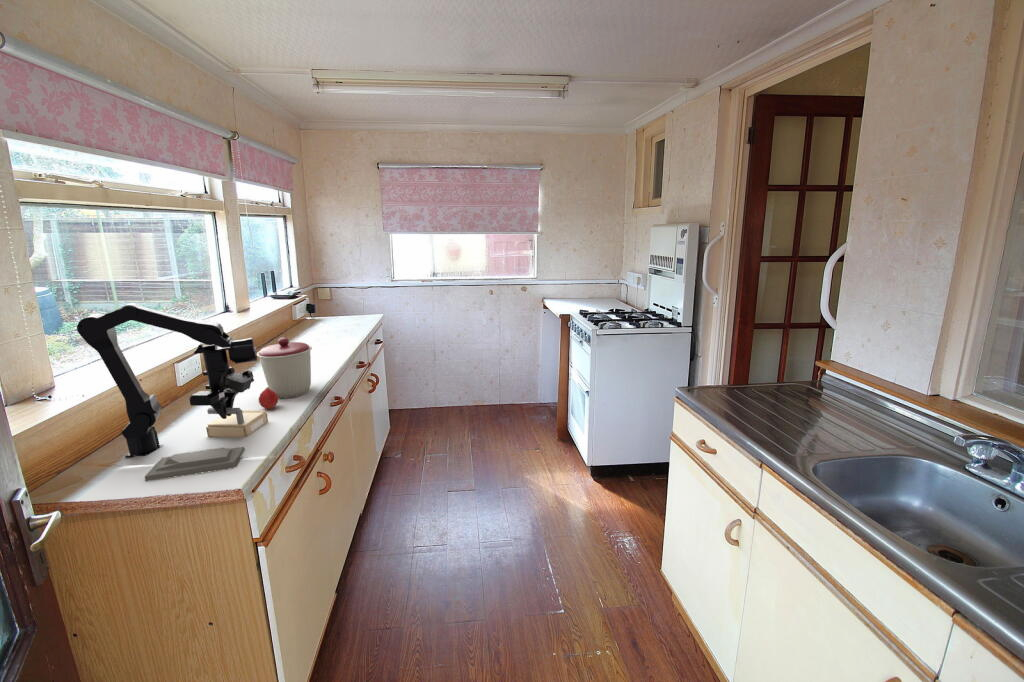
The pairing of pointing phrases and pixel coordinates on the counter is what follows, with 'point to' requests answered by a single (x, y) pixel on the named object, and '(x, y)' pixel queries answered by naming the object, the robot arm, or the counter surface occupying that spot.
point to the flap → (236, 417)
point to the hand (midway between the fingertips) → (226, 417)
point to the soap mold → (195, 462)
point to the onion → (268, 398)
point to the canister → (287, 367)
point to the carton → (237, 429)
